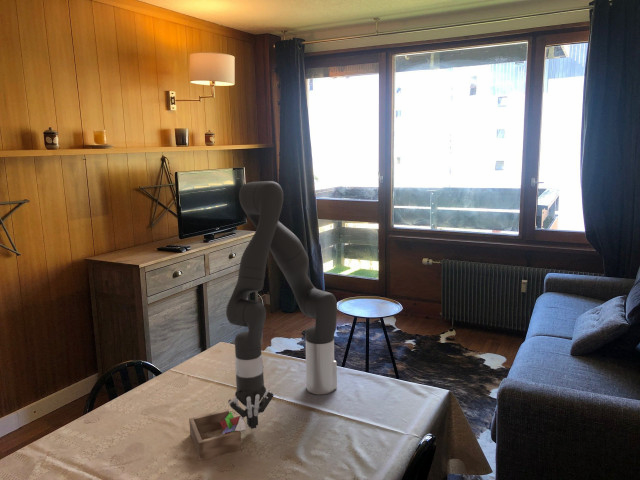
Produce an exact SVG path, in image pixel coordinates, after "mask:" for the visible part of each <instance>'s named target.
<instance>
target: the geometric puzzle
mask: <svg viewBox="0 0 640 480" xmlns="http://www.w3.org/2000/svg"><path fill="white" fill-rule="evenodd" d="M233 413H234V414H235V412H233V411H232V410H230V411H229V414H228V415H227V417H226V418H225V420H224V421H219V422H220V424H221V426H222V429H221V432H220V433H221V434H220V435H224V434H228V433H232V432H236V431H240V432H241V433H243V432H245V431H247V427H246V422H245V420H244V418H245V417H242V416H241V415H237V416H234V415H233Z"/></svg>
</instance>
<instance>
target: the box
mask: <svg viewBox="0 0 640 480" xmlns="http://www.w3.org/2000/svg"><path fill="white" fill-rule="evenodd" d="M229 413H230V411H229V409H224V410H219V411H215V412H212V413H206V414H202V415H198V416H193V417H189V418H188V420H189V421H188V423H189V433H190V435H189V436H190V438H191V441H192V443H193V446H194V448H195V451H196V453H197V456H198V458H199V461H203V460H207V459H211V458H215V457H219V456H222V455H226V454H230V453H234V452H238V451H242V432H241V431H236V432H232V433H228V434H225V433H224V435H223V434H220V435H216V436H214V437H209V438H205V439H202V436H201V435H203V434H207V433H211V432H214V431H215V432H216V431H221V430H222V426H221V424H220V422H219V421H224V420H225V418H226V417H227V415H228V414H229Z"/></svg>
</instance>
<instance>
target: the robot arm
mask: <svg viewBox="0 0 640 480" xmlns="http://www.w3.org/2000/svg"><path fill="white" fill-rule="evenodd" d="M282 188H283V187H281V185H280V184H279V183H277V182H276V181H273V180H271V181H270V180H267V181H266V180H265V181H249V182H247V183H244V184H243V185H242V186H241V187H240V190H239V193H238V194H239V195H238V197H239V203H240V206H241V209H242V210H243V212H244V213H245V214H246V216H247V218H248V219H249V221H250V222H251V223H252V224H253V226H254V227H255V232H254V234H253V236H252V238H251V239H250V241H249V242H248V244H247V245H246V247H245V249H244V250H243V253H242V255H241V259H240V263H239V269H238V275H237V280H236V281H237V282H236V283H235V286H234V289H233V291H232V294H231V296H230V298H229V301H228V303H227V305H226V310H225V314H226V319H227V321H228V322H229V324H231V325H234V326H240V327H245V328H246V327H247V328H248V331H243V332H240V333H239V332H238V334H237V335H236V336H235V337H234V353H235V360H234V361H235V362H234V364H235V365H234V369H235V382H236V383H235V385H236V390H235V394H234V397H233V398H232V399H228V405H229V406H230V407H231V409H232V410H234V411H235V413H236V414H237V415H239V416H240V417H241V418H242V417H244V418H246V424H247V426H248V428H250V430H253V429H256V428H257V426H258V425H259V414H261V413H264V412H265V410H266V408H267V407H268V406H269V404H270V402H271V401H272V399H273V398H274V393H273V392H272V391H271V389H267V388H266V386H265V378H264V375H265V374H264V361H263V355H262V336H263V331H264V326H265V322H266V317H267V310H266V307H265V306H264V304H263V303H262V302H261V301H257V300H251V299H248V297H249V295H250V294H251V293H257V292H260V291H263V288H264V285H265V284H264V282H265V278H266V269H267V263H268V258H269V253H271V255H272V257H273V259H274V261H275V262H276V265H277V266H278V268H279V269H280V271H281V272H282V274H283V276H284V278H285V280H286V282H287V284H288V285H289V287H290V288H291V291H292V293H293V295H294V298H295V300H296V303H297V306H298V307H299V309H300V311H301V313H302V314H303V315H304V316H306V317H309V318H311V319H314V320H315V325H314V326H310V327H308V328H307V329H306V330H305V335H304V336H305V371H306V372H305V374H306V375H305V376H306V377H305V379H306V381H305V382H306V383H305V384H306V390H307V392H308V393H311V394H314V395H326V394H330V393H332V392H334V391H335V390H337V389H338V373H337V372H338V371H337V370H338V367H337V365H338V364H337V363H338V362H337V361H336V360H335V333H336V330H337V329H336V328H337V317H338V315H337V314H338V303H337V302H338V301H337V299H336V296H335V295H334V294H333V293H332V292H328V291H325V290H321V289H318V288H317V287H315V286H314V284H313V283H312V281H311V279H310V277H309V275H308V274H309V273H308V272H309V264H310V262H309V261H310V260H309V256H308V253H307V252H306V249H305V247H304V246H303V243H302V241H301V240H300V239H299V237H297V235H296V234H294V233H293V232H292V231H291V230H290V229H289V228H288V227H286V226H285V225H284V224H283V223H281V222H280V220H279V219H280V215H281V212H282V209H283V206H284V205H283V203H284V191H283V189H282ZM239 402H240V403H241V405H243V406H244V409H243V408H242V407H241V406H240V405H239Z"/></svg>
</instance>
